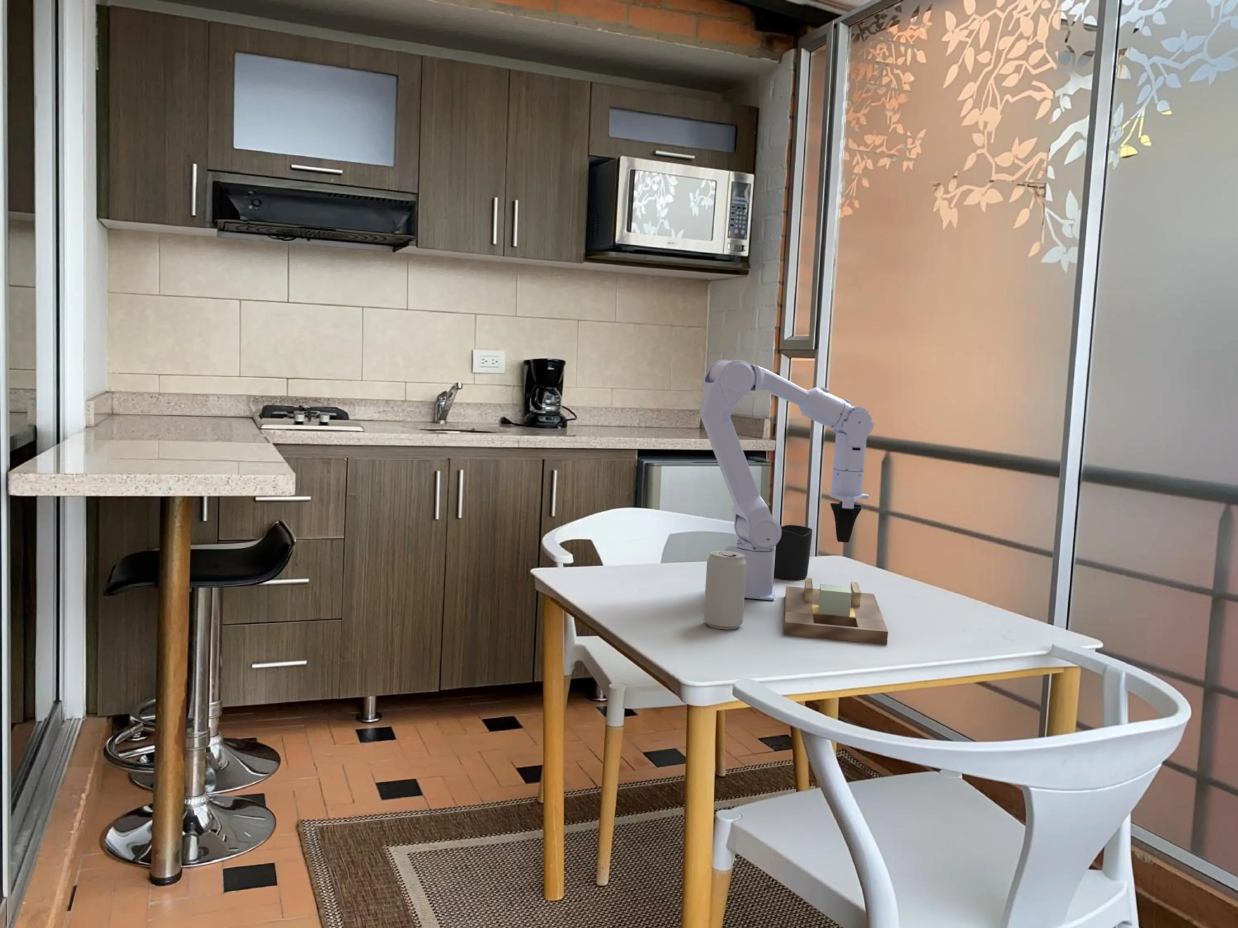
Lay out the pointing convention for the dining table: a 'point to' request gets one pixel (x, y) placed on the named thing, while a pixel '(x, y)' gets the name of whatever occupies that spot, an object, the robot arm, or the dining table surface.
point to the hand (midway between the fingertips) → (842, 541)
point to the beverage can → (725, 589)
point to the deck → (833, 616)
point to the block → (834, 600)
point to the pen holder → (793, 553)
